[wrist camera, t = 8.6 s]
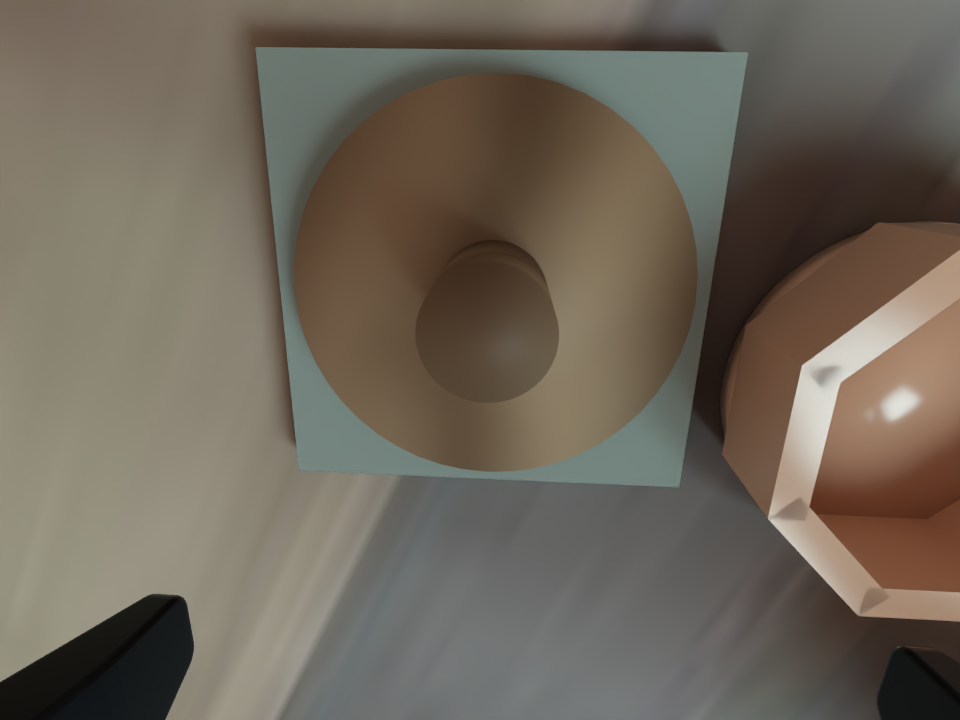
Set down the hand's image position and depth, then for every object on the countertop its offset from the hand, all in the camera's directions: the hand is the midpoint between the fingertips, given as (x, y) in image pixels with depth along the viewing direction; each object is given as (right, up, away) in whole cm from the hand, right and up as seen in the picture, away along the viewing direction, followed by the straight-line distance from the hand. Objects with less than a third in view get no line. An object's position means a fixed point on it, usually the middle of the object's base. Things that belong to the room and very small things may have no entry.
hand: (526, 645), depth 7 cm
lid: (0, +6, +10) cm, 11 cm away
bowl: (+13, +3, +11) cm, 17 cm away
